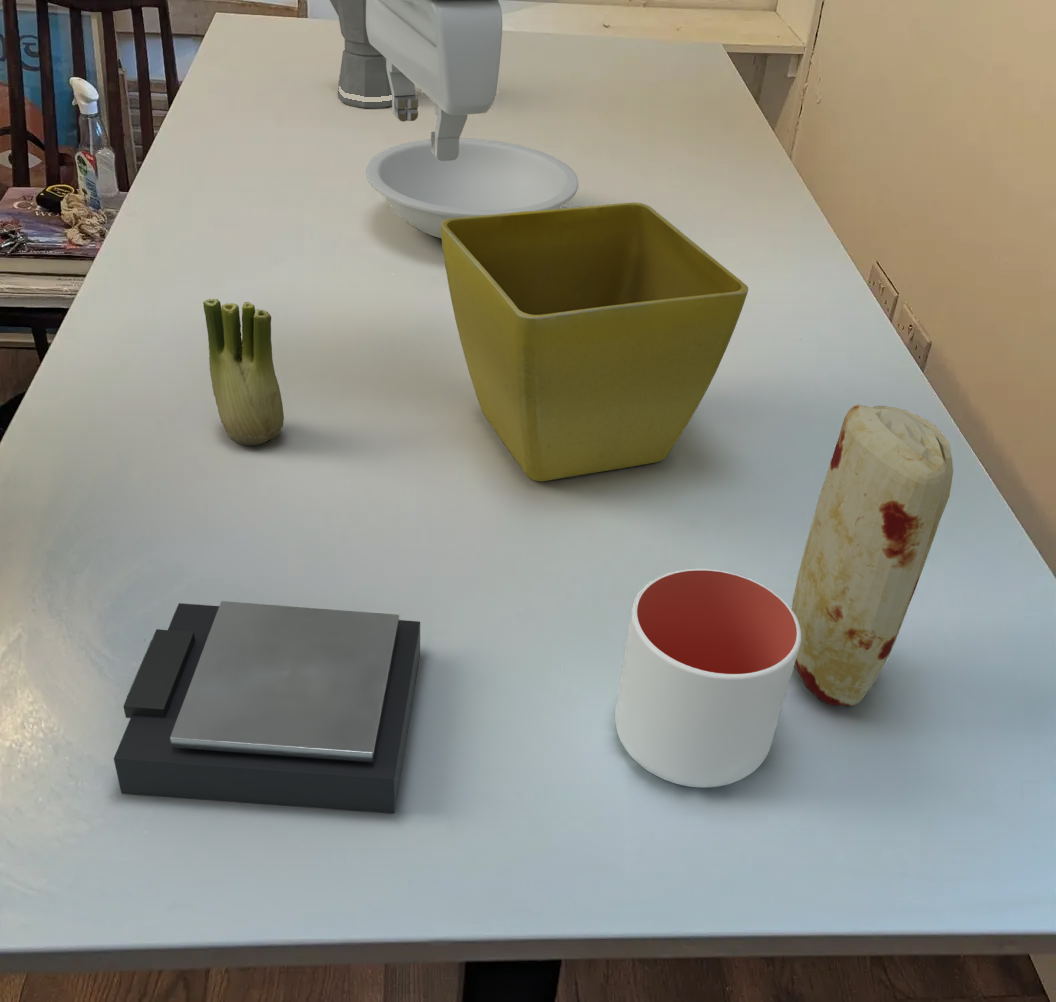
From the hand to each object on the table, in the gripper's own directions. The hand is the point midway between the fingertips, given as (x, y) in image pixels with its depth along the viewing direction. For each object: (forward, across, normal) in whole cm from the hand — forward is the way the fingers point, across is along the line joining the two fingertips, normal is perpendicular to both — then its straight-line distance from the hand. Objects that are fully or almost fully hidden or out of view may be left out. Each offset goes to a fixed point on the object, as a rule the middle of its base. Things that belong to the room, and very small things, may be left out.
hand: (424, 137), depth 95 cm
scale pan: (+19, +38, -22) cm, 48 cm away
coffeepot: (+22, -81, +22) cm, 87 cm away
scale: (+22, +38, -22) cm, 50 cm away
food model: (+22, +46, +13) cm, 53 cm away
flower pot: (+22, +12, +10) cm, 27 cm away
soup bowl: (+22, -32, +18) cm, 43 cm away
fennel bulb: (+22, +4, -16) cm, 28 cm away
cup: (+22, +48, +1) cm, 53 cm away
